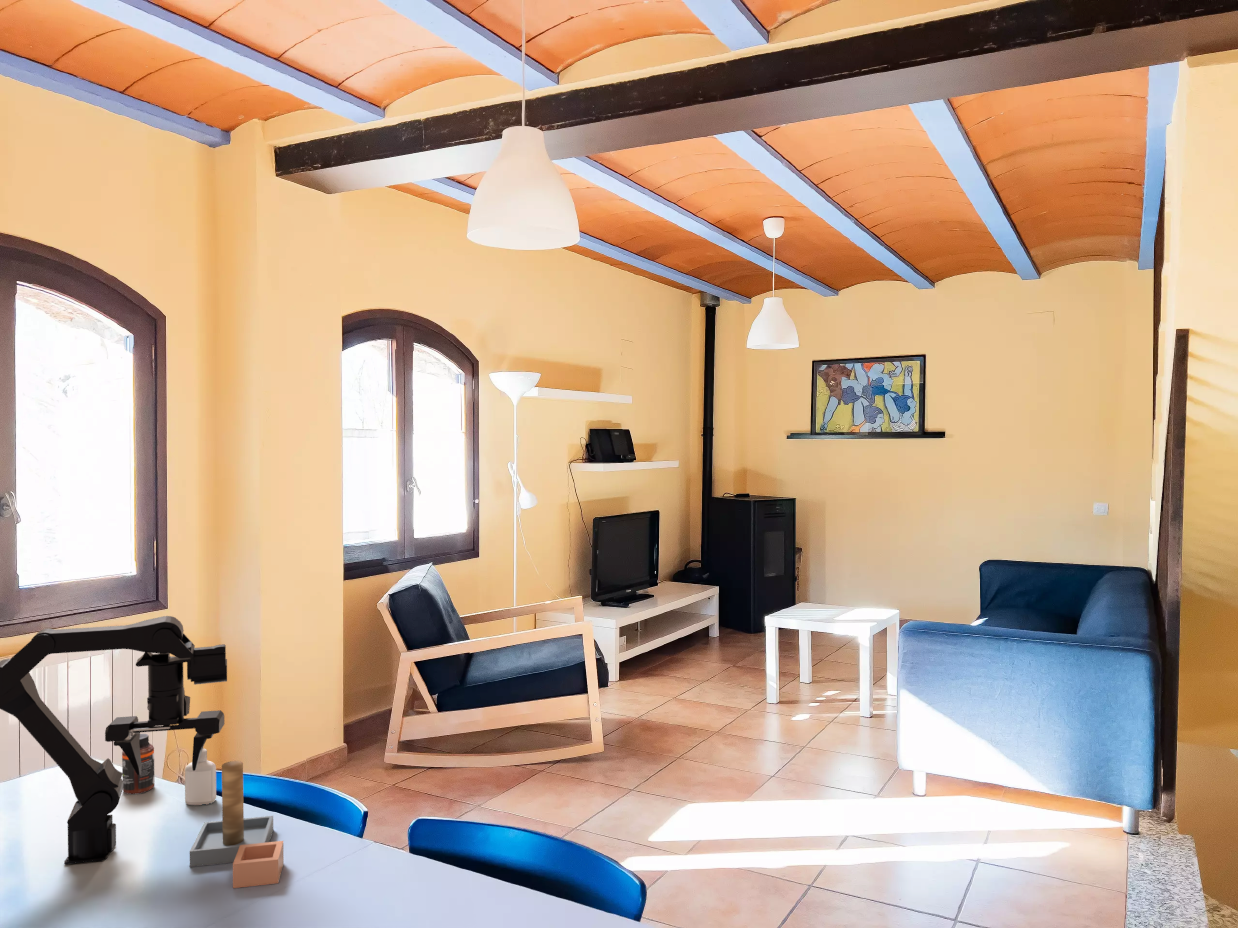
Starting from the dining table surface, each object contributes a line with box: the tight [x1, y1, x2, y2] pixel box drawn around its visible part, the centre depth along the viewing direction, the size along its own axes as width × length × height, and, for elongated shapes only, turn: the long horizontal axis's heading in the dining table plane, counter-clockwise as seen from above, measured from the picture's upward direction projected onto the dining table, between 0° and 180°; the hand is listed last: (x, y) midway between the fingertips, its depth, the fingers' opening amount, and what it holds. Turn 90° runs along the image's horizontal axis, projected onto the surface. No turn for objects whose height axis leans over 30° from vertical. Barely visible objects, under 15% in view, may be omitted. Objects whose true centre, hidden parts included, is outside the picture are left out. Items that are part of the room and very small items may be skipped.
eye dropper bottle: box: [184, 747, 217, 806], centre depth 179 cm, size 4×6×12 cm
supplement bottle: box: [121, 733, 156, 795], centre depth 185 cm, size 6×6×11 cm
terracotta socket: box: [232, 840, 285, 889], centre depth 149 cm, size 7×7×4 cm
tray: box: [189, 815, 274, 868], centre depth 159 cm, size 12×12×3 cm
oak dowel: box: [221, 760, 245, 846], centre depth 159 cm, size 4×4×14 cm
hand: (167, 771), depth 161 cm, fingers open, 9 cm apart
